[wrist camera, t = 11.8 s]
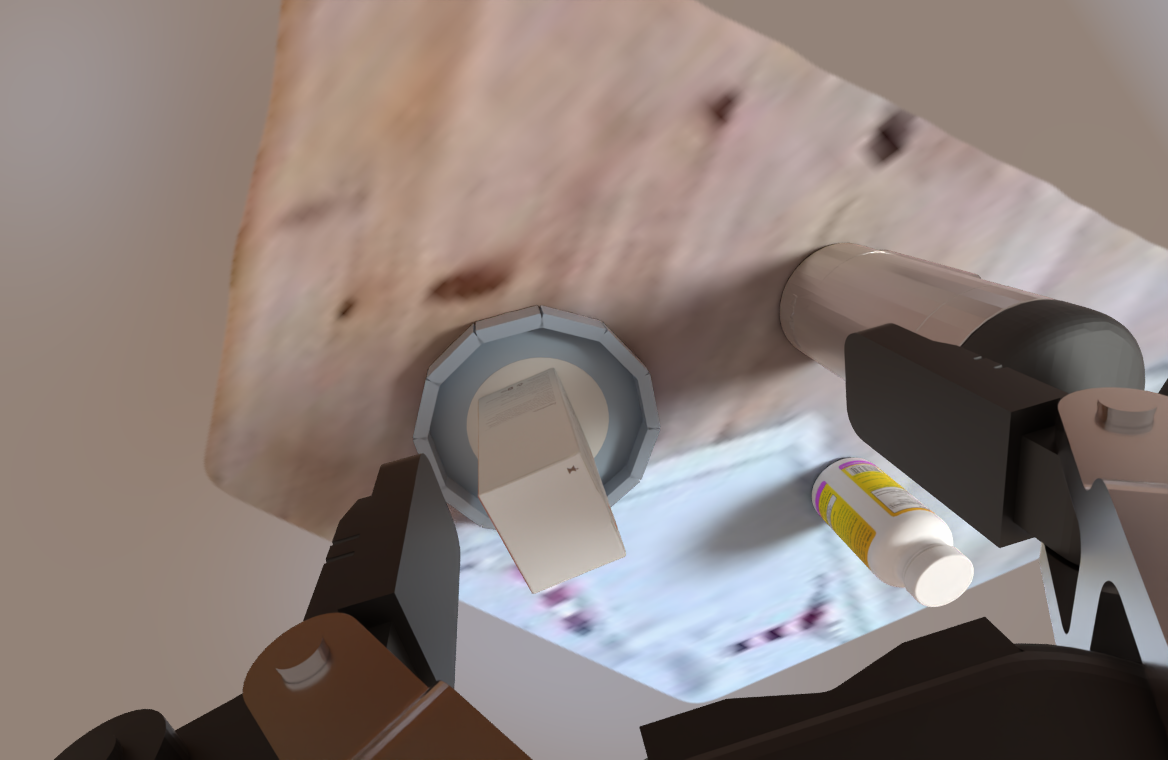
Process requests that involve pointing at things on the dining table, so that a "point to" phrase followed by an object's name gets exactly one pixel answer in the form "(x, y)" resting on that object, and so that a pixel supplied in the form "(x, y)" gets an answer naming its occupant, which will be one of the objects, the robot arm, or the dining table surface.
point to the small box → (543, 483)
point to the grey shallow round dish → (521, 350)
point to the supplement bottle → (891, 531)
